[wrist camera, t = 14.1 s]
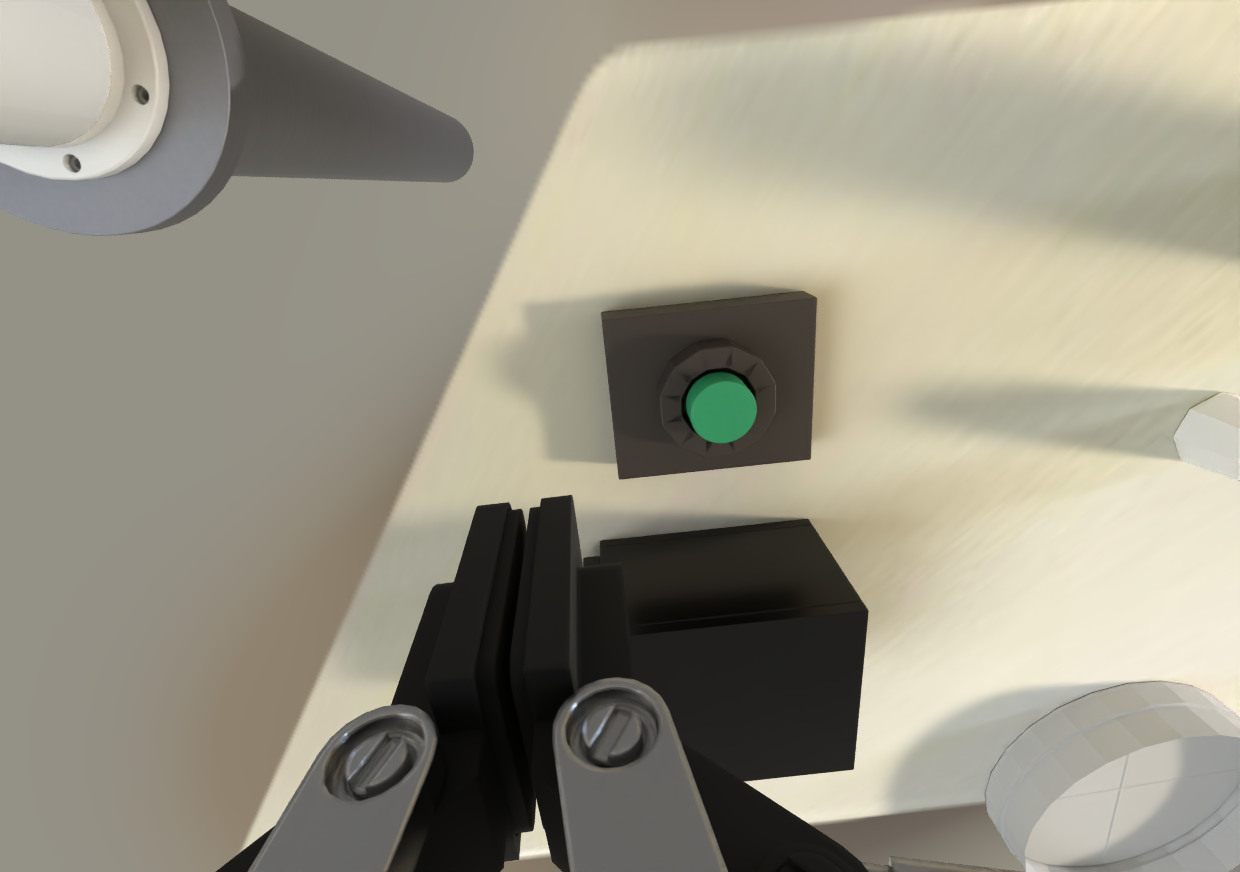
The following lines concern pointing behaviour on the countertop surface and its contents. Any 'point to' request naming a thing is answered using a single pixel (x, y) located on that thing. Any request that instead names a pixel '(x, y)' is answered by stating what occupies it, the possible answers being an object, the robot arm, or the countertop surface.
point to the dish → (1124, 784)
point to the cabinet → (748, 644)
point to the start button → (721, 407)
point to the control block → (699, 345)
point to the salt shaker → (1212, 435)
